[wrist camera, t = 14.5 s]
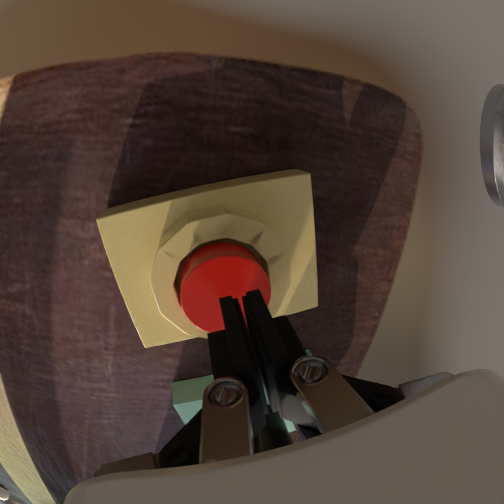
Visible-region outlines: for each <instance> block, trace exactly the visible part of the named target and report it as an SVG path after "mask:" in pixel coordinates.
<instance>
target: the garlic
mask: <svg viewBox="0 0 504 504" xmlns="http://www.w3.org/2000/svg"><path fill="white" fill-rule="evenodd" d="M8 498H9V492H8V491H7V490H6V489H5V488H3V487H1V486H0V499H2V500H8Z"/></svg>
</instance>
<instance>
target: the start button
mask: <svg viewBox="0 0 504 504" xmlns="http://www.w3.org/2000/svg"><path fill="white" fill-rule="evenodd" d="M256 289H259V290H260V292H261V294H262V296H263V298H264V300H265V303H266V305H267V307H268V305H269V302H270V298H271V284H270V281H269V278H268V276H267V274H266V272H265V271H264V269H263V267H262V266H261V264H260V262H259V261H258V259H257V258H256V256H255V255H254V254H253V253H252V252H251V251H250V250H248V249H247V248H245V247H243V246H241V245H238V244H235V243H229V242H218V243H213V244H209V245H207V246H204V247H202V248H201V249H199V250H197V251H196V252H195V253H193V254H192V255H191V256H190V257H189V259H188V260H187V261H186V263H185V265H184V266H183V269H182V272H181V276H180V300H181V306H182V309H183V312H184V314H185V315H186V317H187V318H188V319H189V321H190V322H191V323H193V324H194V325H195V326H196V327H198V328H200V329H202V330H204V331H206V332H215V331H219V330H224V329H225V326H224V321H223V316H222V312H221V307H220V303H219V298H221V297H226V296H230V295H232V298H238V300H239V303H240V307H241V310H242V313H243V316H244V319H245V322H246V318H245V313H244V307H243V302H242V296H246V292H248V291H252V290H256ZM246 325H247V323H246Z"/></svg>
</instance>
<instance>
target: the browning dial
mask: <svg viewBox="0 0 504 504" xmlns="http://www.w3.org/2000/svg"><path fill="white" fill-rule="evenodd" d="M267 407H268V412H269V414H265V419H266V425H265V426H264V428H263V429H262V430H261V432H260V433H259V435H260V441H261V451H262V452H265V451H269V450H273V449H276V448H280V447H284V446H287V445H291V444H293V442H292V439H291V437H290V434H289V432H288V429H287V427H286V424H285V422H284V419H283V418H280V415H279V412H278V411H277V412H273V411H272V408H271V405H270V404H267Z"/></svg>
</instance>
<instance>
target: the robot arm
mask: <svg viewBox="0 0 504 504" xmlns="http://www.w3.org/2000/svg"><path fill="white" fill-rule="evenodd" d="M503 153H504V140H503ZM242 302H243V307H244V313H245V318H246V322H245V319H244V316H243V313H242V310H241V307H240V303H239V300H238V298H232V295H230V296H226V297H221V298H219V303H220V307H221V312H222V316H223V321H224V326H225V329H224V330H219V331H215V332H210V333H207V336H208V343H209V350H210V357H211V364H212V370H213V377H214V381H212V382H211V383H210V384H208V385H207V387H206V388H205V390H204V393H203V401H202V408H201V409H200V410H199V411H198V412H197V413H196V414H195V416H194V417H193V418H192V419H191V420H190V421H189V422H188V423H187V424H186V425H185V426H184V427H183V428H182V429H181V430H180V431H179V432H178V433H177V434H176V435H175V436H174V437H173V438H172V439H171V440H170V441H169V442H168V443H167V444H166V445H165V446H164V447H163V448H162V450H161V451H160V452H159V453H155V454H153V453H152V452H149V453H146V454H142V455H138V456H135V457H131V458H127V459H123V460H118V461H114V462H110V463H106V464H103V465H101V466H100V467H99V468H97V469H96V472H95V474H94V478H91V479H89V480H86V481H84V482H82V483H80V484H78V485H76V486H75V487H73V488H72V489H71V490H70V491H69V493H68V494H67V496H66V498H65V501H64V504H504V377H503V376H502V375H500V374H499V373H497V372H494V371H492V370H488V369H478V370H471V371H467V372H463V373H459V374H456V375H453V374H452V373H448V372H441V373H437V374H434V375H431V376H427V377H424V378H421V379H417V380H414V381H410V382H406V383H402V384H399V385H398V387H396V388H393V387H391V386H388V385H383V384H379V383H374V382H369V381H365V380H361V379H357V378H353V377H349V376H345V375H341V374H340V373H339V372H338V371H337V370H336V369H335V367H334V366H333V365H332V364H331V363H330V362H329V361H328V360H327V359H325V358H323V357H320V356H315V355H310V356H308V355H307V353H306V351H305V349H304V348H303V346H302V344H301V342H300V340H299V338H298V336H297V335H296V333H295V331H294V329H293V327H292V325H291V323H290V321H289V320H288V318H287V316H286V315H282V316H278V317H274V318H272V316H271V313H270V311H269V309H268V307H267V305H266V303H265V300H264V298H263V296H262V294H261V292H260V290H259V289H256V290H252V291H248V292H246V296H242ZM246 323H247V325H246ZM263 385H264V386H263ZM264 388H265V391H266V394H267V397H268V399H269V402H270V405H271V408H272V411H273V412H277V411H278V412H279V415H280V418H283V419H285V420H288V421H291V422H293V424H294V427H295V429H296V430H297V432H298V433H299V435H300V437H301V438H302V440H303V441H301V442H297V443H294V444H291V445H287V446H284V447H280V448H276V449H273V450H269V451H265V452H262V451H261V441H260V435H259V433H260V432H261V430H262V429H263V428H264V426H265V425H266V419H265V414H269V412H268V407H267V402H266V397H265V391H264Z"/></svg>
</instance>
